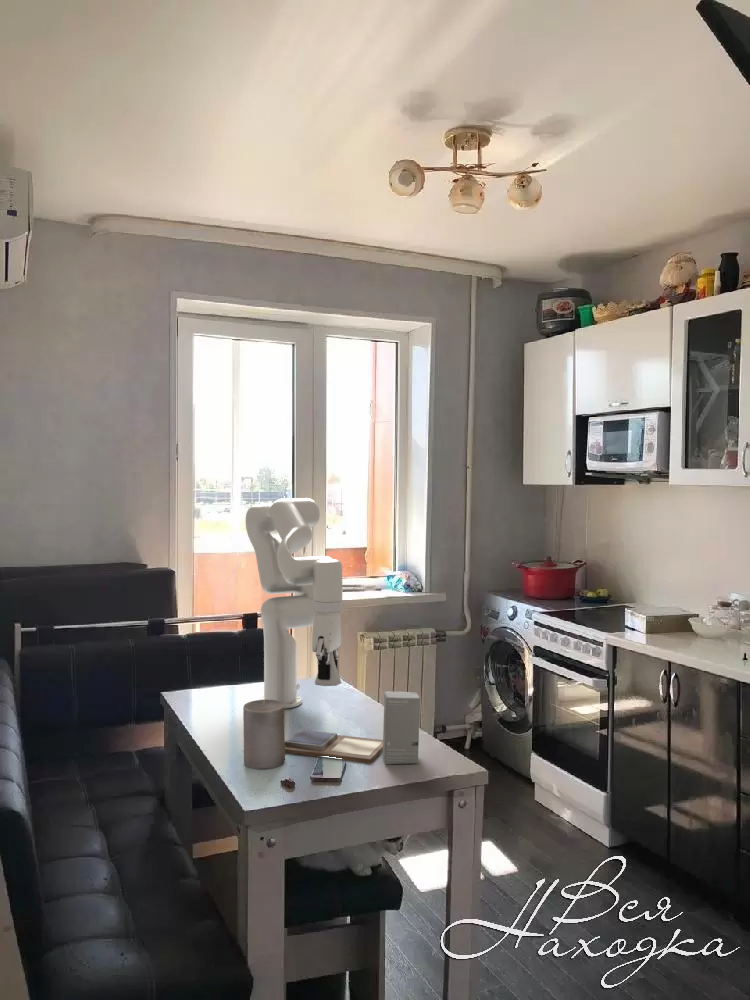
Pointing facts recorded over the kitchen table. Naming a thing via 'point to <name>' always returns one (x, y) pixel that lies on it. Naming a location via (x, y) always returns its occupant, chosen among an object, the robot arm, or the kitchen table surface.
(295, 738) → the board
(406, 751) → the skincare box
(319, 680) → the flask
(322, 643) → the robot arm
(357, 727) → the kitchen table surface
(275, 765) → the pillar candle
